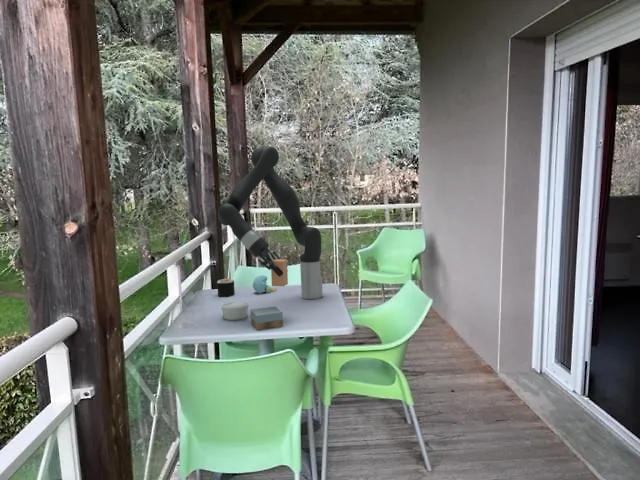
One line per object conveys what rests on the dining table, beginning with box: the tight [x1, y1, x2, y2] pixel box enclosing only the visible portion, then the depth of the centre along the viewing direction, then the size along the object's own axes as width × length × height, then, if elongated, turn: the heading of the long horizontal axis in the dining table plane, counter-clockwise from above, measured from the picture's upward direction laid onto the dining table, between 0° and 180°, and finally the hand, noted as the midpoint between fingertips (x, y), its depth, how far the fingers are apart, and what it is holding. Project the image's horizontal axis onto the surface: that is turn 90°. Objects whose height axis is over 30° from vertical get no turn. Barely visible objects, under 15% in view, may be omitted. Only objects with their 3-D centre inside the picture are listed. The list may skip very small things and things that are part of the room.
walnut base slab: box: [250, 317, 284, 331], centre depth 193 cm, size 10×10×3 cm
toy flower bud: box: [252, 274, 278, 295], centre depth 249 cm, size 7×9×12 cm
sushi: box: [216, 278, 235, 298], centre depth 246 cm, size 8×8×8 cm
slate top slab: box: [249, 306, 283, 323], centre depth 193 cm, size 10×10×3 cm
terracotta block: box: [270, 258, 289, 288], centre depth 199 cm, size 5×5×10 cm
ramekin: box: [221, 301, 249, 321], centre depth 206 cm, size 11×11×5 cm
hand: (283, 273), depth 199 cm, fingers closed on terracotta block, 5 cm apart
